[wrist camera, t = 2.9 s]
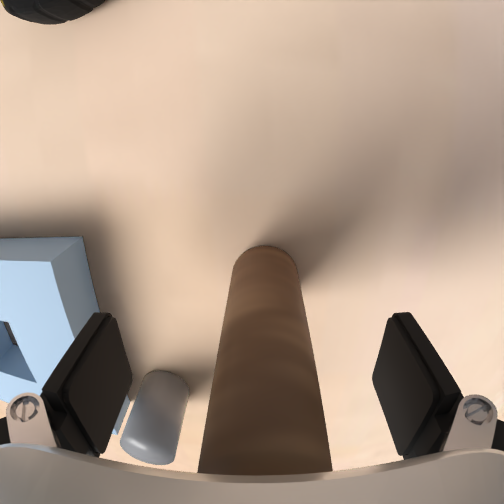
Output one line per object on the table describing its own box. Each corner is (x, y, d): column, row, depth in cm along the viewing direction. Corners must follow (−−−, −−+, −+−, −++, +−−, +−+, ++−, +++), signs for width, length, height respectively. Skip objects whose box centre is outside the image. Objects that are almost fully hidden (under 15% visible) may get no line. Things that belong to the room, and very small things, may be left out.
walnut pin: (298, 246, 14) (345, 445, 5) (295, 303, 15) (321, 499, 6) (231, 245, 14) (187, 445, 5) (233, 302, 16) (205, 499, 6)
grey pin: (186, 372, 18) (168, 440, 13) (192, 404, 19) (178, 467, 14) (138, 368, 18) (112, 431, 13) (148, 399, 19) (128, 459, 14)
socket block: (82, 236, 14) (50, 261, 12) (130, 402, 19) (117, 435, 16) (-56, 240, 15) (-82, 257, 12) (-5, 369, 20) (-21, 390, 17)
